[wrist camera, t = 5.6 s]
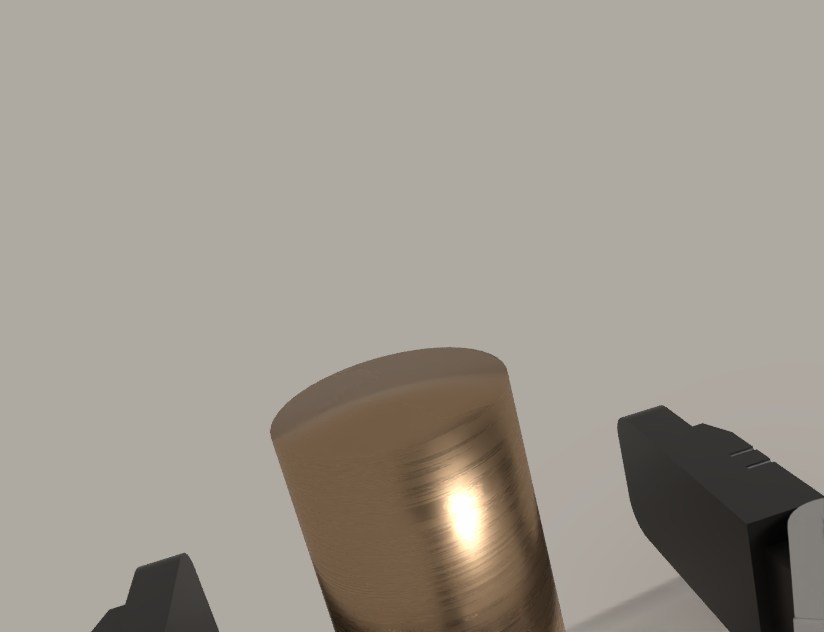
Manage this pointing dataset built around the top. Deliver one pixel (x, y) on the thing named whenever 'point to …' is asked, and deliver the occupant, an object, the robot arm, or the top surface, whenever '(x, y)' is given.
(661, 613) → the top surface
